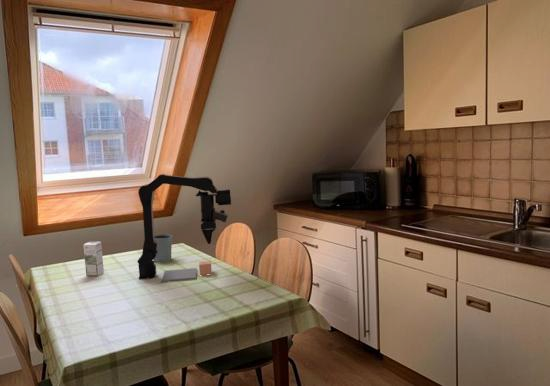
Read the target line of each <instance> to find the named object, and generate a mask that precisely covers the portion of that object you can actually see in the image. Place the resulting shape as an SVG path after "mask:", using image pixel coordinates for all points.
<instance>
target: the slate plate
mask: <svg viewBox="0 0 550 386" xmlns="http://www.w3.org/2000/svg"><path fill="white" fill-rule="evenodd" d="M197 271H198V268H197V267H193V268H182V269H169V270H164V272H163V275H162V278H161V283H169V282H168V281H170V282H178V281H177V280H182V281H190V280H189V279H194V280H197V273H198V272H197Z"/></svg>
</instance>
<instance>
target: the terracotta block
mask: <svg viewBox="0 0 550 386" xmlns="http://www.w3.org/2000/svg"><path fill="white" fill-rule="evenodd" d="M198 265H199V267H198V268H199V269H198V270H199V276H200V275H205V276H208V275H207V274H212V273H213V272H212V261H211V260H204V261H199V263H198ZM212 275H213V274H212Z"/></svg>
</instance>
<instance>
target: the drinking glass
mask: <svg viewBox="0 0 550 386" xmlns="http://www.w3.org/2000/svg"><path fill="white" fill-rule="evenodd" d="M154 237H155V240H156V241H159V249H160V250H159V251H158V253H157V255H156V257H155V258H154V259H153V260H152V261H154V263H157V262H162V263H167V262H166V261H168V262H170V261H172V250H173V249H172V246H173V245H172V242H173V241H172V240H173V239H172V238H173V235H172V234H168V233H167V234H166V233H165V234H154Z"/></svg>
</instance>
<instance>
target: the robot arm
mask: <svg viewBox="0 0 550 386" xmlns="http://www.w3.org/2000/svg"><path fill="white" fill-rule="evenodd" d="M162 185H172V186H183V187H191V188H194V189H197V190H198V191H197V193H195V196H196V197H199V198H200V199H199V200H200V214H201V215H200V217H201V218H200V229H201V232H202V234H203V236H204V238H205V241H206V242H207V244H208V245H211V242H212V238H213V237H212V236H213V233H214V231H215V230H216V229H217V224H216V221H220V222H223V223H226V222H227V219H228V216H229V214H227V213H225V210H224V209H220V210H216V207H215V204H216V205H217V206H231V205H232V196H231V189H229V188H227V189H226V188H225V189H218V188H217V187H216V186H215V185H214V180H213V178H211V177H210V176H196V177H190V176H189V177H188V176H179V175H171V174H165V173H161V174H159V175H158V176H156V178H155V179H153V180H152V181H150V182H149V183H147V184H144V185H141V186H140V187H139V189H138V191H137V192H138V193H137V194H138V197H139V200H140V203H141V207H142V217H143V232H144V234H143V235H144V236H143V237H144V240H143V245H142V254H140V257H139V258H138V259H137V263H138V265H137V266H138V276H139V277H138V279H139V280H141V279H142V280H143V279H153V278H155V277H156V276H157V265H156V263H155V262H154V261H153V259H154V258H155V257H156V255H157V253H158V251H159V250H160V249H159V241H156V240H155V237H154V235H155V227H154V211H153V209H154V208H153V204H154V198H155V192H156V191H157V189H158V188H159V187H161V186H162ZM209 192H210V193H209ZM214 197H215V198H214Z"/></svg>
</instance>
